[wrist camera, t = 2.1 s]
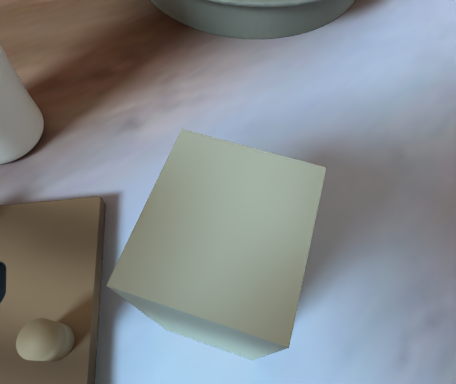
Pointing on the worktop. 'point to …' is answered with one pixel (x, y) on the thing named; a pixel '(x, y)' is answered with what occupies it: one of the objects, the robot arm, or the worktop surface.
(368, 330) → the worktop surface
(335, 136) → the worktop surface
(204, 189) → the sage block
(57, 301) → the peg stand
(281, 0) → the cake pan
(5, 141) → the drinking glass
